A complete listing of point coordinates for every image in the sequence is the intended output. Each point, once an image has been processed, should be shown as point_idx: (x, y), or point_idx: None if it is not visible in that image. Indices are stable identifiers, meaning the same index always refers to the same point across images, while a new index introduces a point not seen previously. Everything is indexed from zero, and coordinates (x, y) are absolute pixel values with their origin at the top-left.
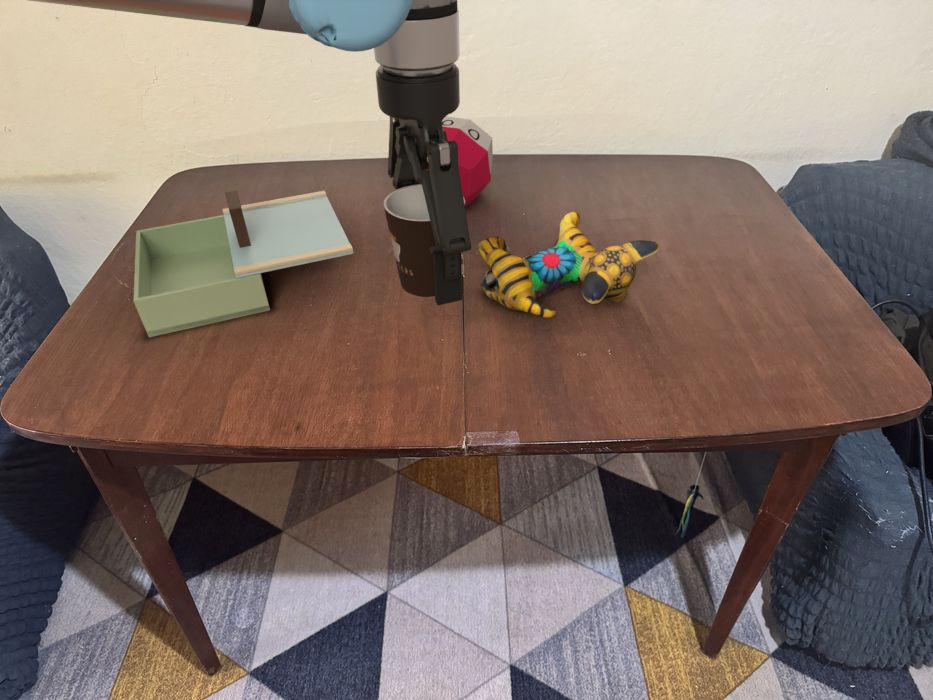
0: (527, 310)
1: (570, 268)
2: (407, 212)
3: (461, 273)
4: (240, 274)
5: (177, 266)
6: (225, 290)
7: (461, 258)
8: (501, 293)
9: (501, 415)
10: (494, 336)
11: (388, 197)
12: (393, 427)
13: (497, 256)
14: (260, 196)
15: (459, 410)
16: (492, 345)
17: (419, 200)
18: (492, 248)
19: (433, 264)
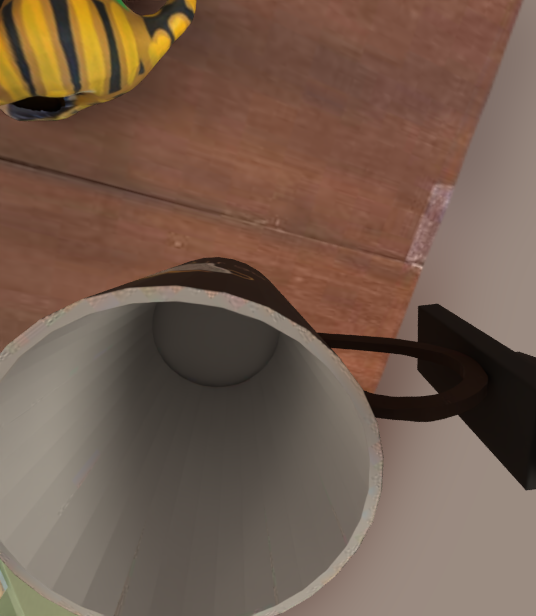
0: (168, 48)
1: None
2: (77, 459)
3: (485, 334)
4: (1, 585)
5: None
6: (27, 585)
7: (524, 358)
8: (110, 94)
9: (393, 197)
10: (189, 142)
11: (100, 614)
12: (358, 354)
13: (12, 67)
14: None
15: (359, 258)
16: (216, 155)
17: (33, 436)
18: None
19: (479, 438)
